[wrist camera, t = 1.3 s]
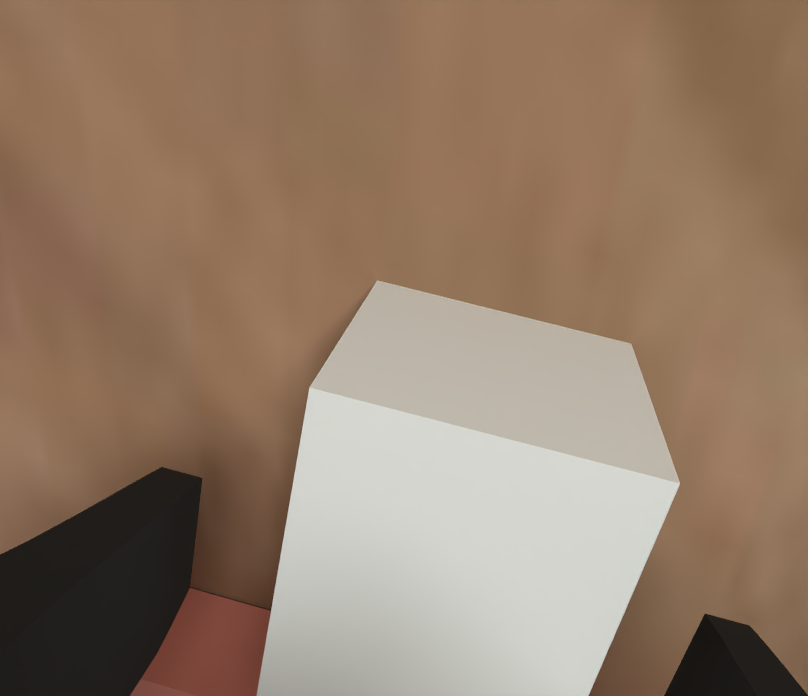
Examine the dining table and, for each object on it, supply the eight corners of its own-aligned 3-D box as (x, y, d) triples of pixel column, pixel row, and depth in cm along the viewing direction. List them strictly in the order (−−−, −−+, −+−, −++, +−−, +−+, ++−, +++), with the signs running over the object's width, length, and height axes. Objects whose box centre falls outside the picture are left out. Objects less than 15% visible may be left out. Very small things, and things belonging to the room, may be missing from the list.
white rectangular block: (629, 341, 13) (680, 482, 9) (534, 602, 15) (538, 812, 11) (377, 278, 13) (309, 387, 9) (324, 545, 15) (250, 728, 11)
